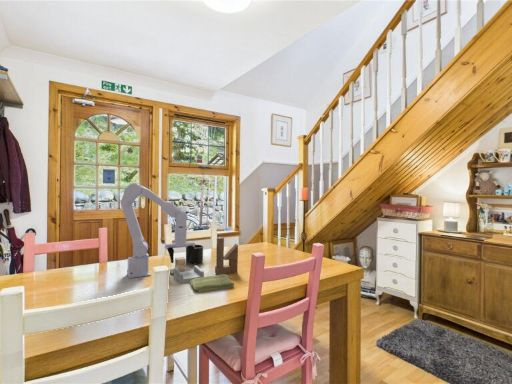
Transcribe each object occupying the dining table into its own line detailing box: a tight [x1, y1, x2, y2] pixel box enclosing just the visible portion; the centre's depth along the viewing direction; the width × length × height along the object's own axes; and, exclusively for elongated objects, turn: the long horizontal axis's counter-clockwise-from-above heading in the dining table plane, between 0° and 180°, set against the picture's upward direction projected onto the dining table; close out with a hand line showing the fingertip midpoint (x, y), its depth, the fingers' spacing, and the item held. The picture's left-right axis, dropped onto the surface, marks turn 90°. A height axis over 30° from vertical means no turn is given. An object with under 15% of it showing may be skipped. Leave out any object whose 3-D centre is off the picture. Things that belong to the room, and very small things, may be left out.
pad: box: [169, 266, 192, 276], centre depth 143 cm, size 10×7×1 cm
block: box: [174, 257, 186, 272], centre depth 142 cm, size 4×4×6 cm
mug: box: [185, 244, 204, 265], centre depth 160 cm, size 9×12×9 cm
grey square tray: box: [173, 264, 205, 284], centre depth 133 cm, size 11×11×4 cm
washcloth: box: [189, 274, 235, 293], centre depth 124 cm, size 13×18×3 cm
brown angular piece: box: [214, 236, 239, 275], centre depth 142 cm, size 4×11×18 cm, turn 115°
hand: (179, 261), depth 143 cm, fingers open, 7 cm apart
